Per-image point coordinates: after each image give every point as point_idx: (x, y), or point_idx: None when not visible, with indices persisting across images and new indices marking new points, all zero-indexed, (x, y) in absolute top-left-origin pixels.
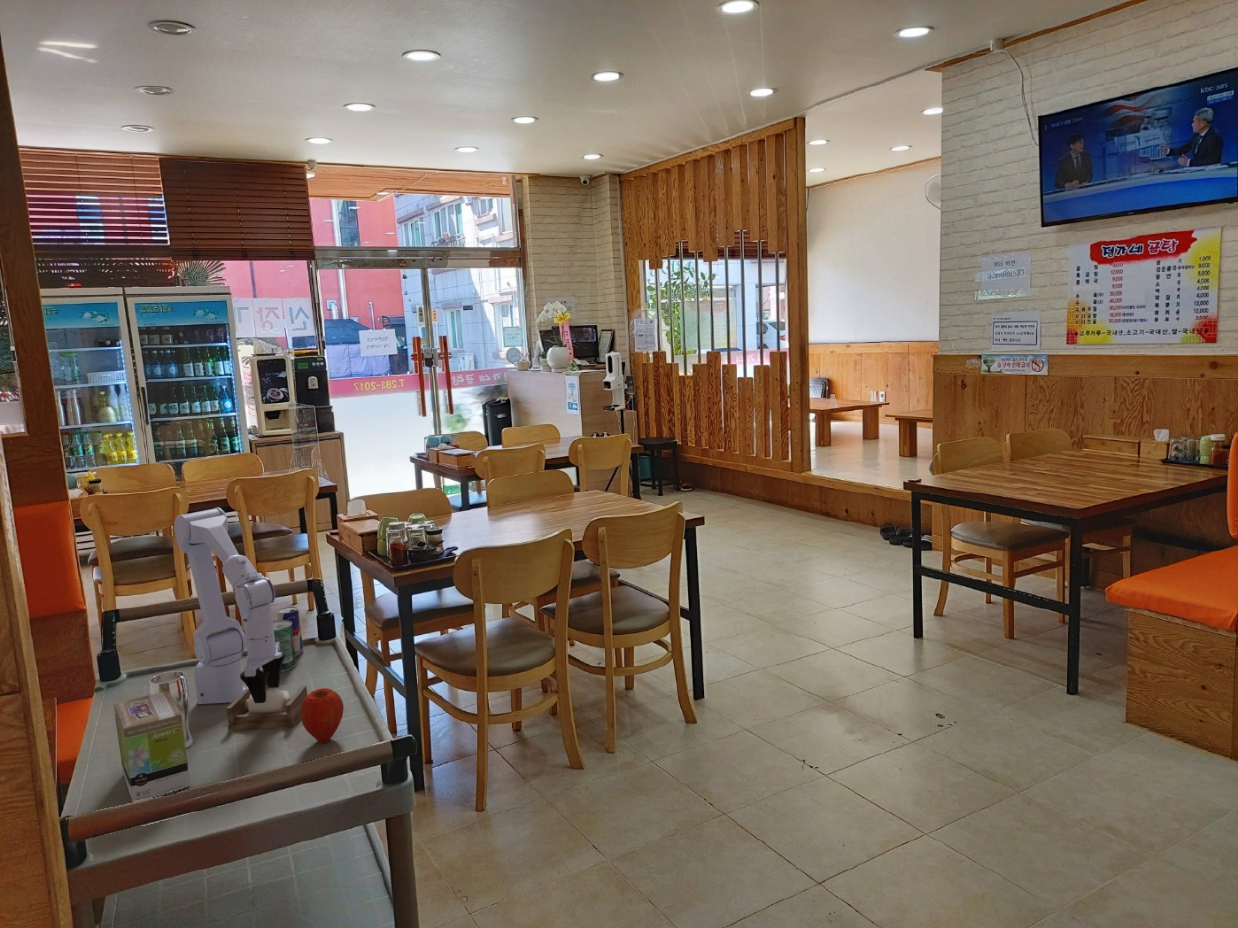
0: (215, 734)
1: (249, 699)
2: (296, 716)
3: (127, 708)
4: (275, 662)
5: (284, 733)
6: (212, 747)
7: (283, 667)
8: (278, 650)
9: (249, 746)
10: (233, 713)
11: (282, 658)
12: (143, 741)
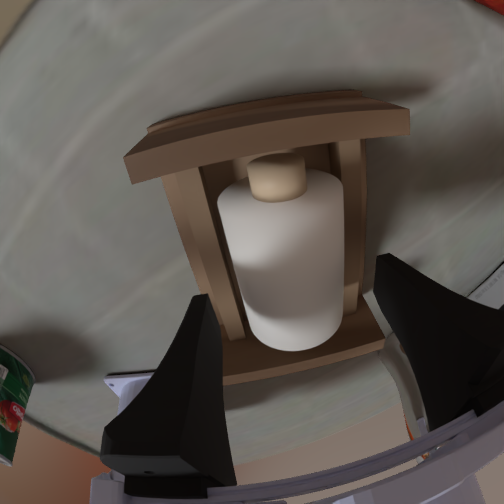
0: (372, 310)
1: (337, 328)
2: (310, 100)
3: None
4: (202, 431)
5: (399, 105)
6: (437, 273)
7: (6, 357)
8: (115, 488)
9: (458, 182)
10: (365, 322)
11: (182, 439)
12: None
